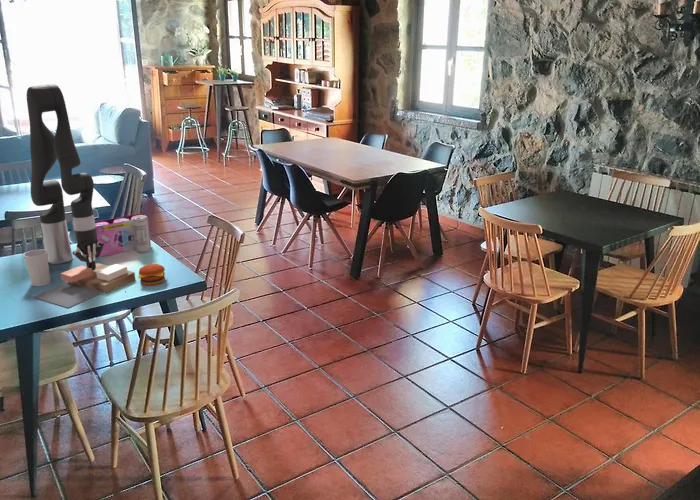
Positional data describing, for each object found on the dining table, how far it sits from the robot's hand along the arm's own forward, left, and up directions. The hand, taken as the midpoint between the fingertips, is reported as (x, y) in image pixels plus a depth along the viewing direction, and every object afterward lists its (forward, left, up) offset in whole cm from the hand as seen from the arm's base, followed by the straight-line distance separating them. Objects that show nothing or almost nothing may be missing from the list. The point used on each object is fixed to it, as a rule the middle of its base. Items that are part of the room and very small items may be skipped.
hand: (91, 270), depth 228 cm
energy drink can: (-6, +31, -4) cm, 32 cm away
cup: (-14, -12, -4) cm, 19 cm away
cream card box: (+10, +1, 0) cm, 10 cm away
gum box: (-16, +28, -4) cm, 33 cm away
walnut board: (+5, 0, -4) cm, 6 cm away
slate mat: (+4, -14, -4) cm, 15 cm away
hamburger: (+22, +9, -4) cm, 24 cm away
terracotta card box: (0, -6, 0) cm, 6 cm away
